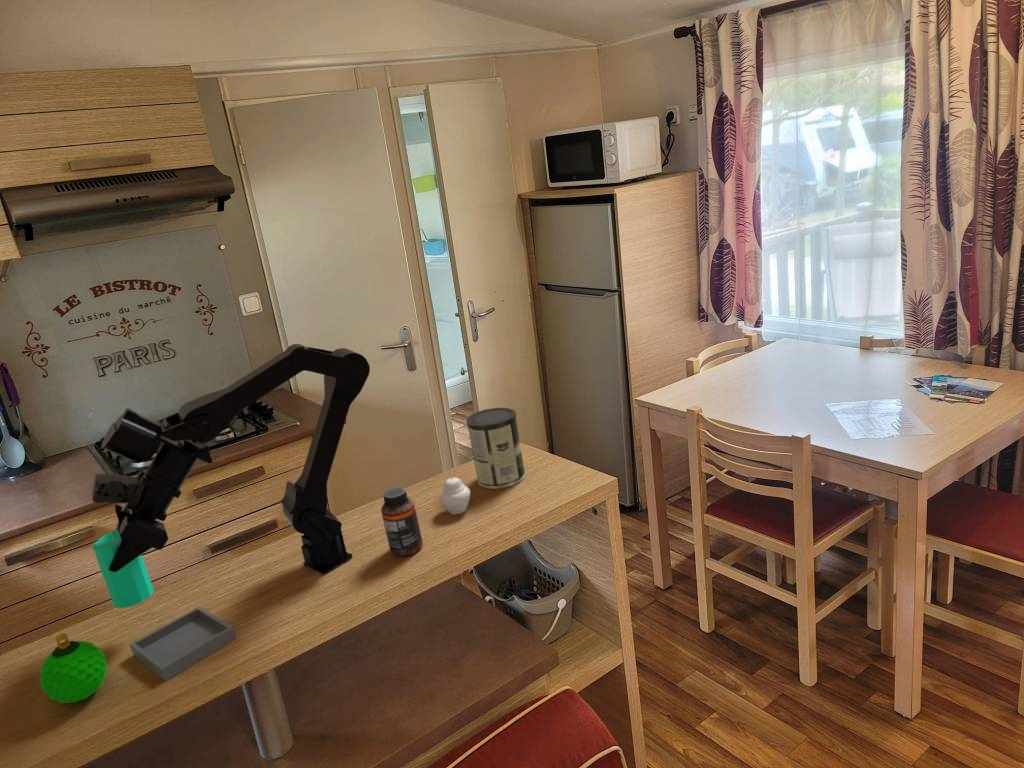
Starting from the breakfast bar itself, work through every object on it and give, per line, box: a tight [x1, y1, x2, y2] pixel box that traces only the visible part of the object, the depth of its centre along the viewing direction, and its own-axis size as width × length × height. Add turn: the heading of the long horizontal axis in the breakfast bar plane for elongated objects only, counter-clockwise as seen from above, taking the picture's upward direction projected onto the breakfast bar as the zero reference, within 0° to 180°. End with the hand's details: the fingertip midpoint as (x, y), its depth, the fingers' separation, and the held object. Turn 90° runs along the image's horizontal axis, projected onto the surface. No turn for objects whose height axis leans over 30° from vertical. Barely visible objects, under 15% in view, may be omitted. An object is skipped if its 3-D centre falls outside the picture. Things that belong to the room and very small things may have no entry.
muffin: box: [438, 477, 471, 516], centre depth 144 cm, size 6×6×7 cm
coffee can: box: [465, 407, 526, 490], centre depth 155 cm, size 10×10×14 cm
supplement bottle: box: [380, 487, 424, 557], centre depth 132 cm, size 6×6×11 cm
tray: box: [129, 605, 237, 682], centre depth 114 cm, size 11×11×2 cm
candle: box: [91, 529, 155, 609], centre depth 116 cm, size 6×6×12 cm
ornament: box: [39, 632, 108, 704], centre depth 104 cm, size 8×8×10 cm
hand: (111, 563), depth 115 cm, fingers closed on candle, 5 cm apart
